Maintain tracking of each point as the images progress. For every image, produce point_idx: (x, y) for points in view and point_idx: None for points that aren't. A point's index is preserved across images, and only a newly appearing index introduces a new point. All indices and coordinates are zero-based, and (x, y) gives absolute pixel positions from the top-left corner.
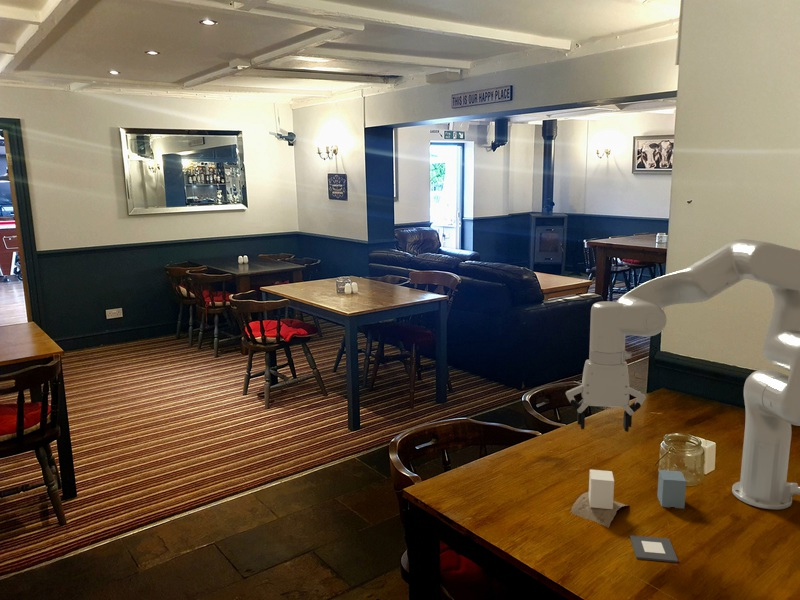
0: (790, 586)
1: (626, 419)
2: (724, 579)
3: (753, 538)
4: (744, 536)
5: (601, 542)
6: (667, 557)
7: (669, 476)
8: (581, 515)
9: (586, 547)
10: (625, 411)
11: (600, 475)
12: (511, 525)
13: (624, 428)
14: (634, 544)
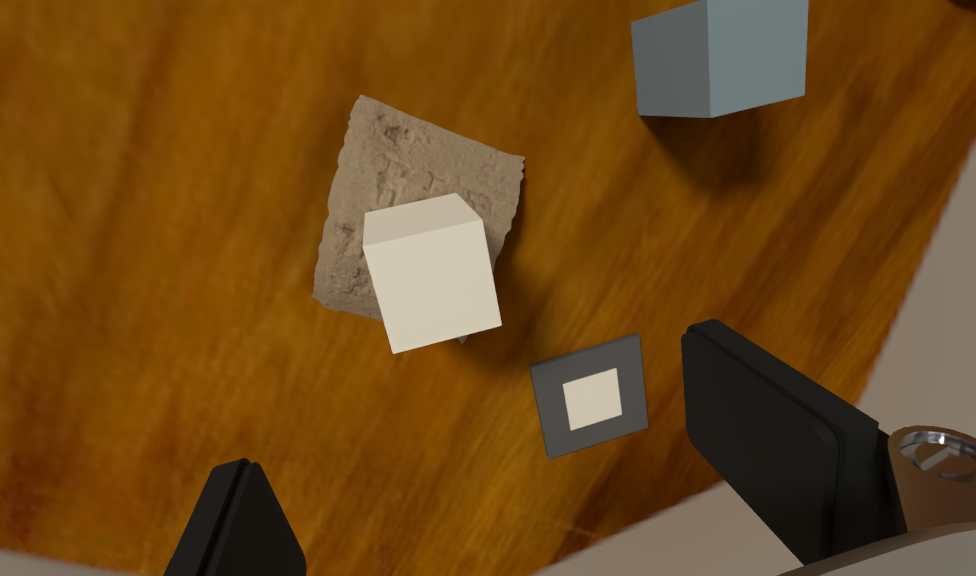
0: (856, 400)
1: (786, 533)
2: None
3: (861, 220)
4: (842, 219)
5: (450, 427)
6: (624, 426)
7: (743, 67)
8: (360, 310)
9: (412, 469)
10: (853, 503)
11: (430, 294)
12: (138, 470)
13: (692, 409)
14: (543, 407)
